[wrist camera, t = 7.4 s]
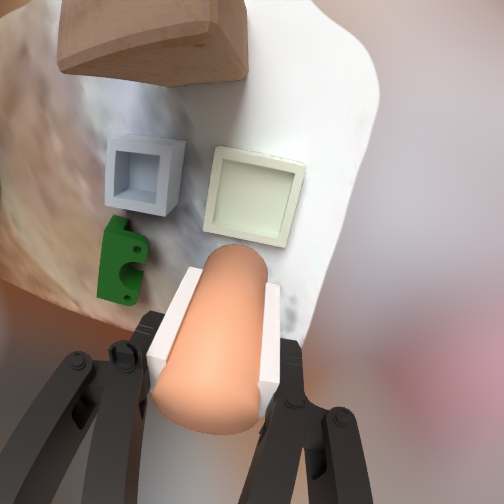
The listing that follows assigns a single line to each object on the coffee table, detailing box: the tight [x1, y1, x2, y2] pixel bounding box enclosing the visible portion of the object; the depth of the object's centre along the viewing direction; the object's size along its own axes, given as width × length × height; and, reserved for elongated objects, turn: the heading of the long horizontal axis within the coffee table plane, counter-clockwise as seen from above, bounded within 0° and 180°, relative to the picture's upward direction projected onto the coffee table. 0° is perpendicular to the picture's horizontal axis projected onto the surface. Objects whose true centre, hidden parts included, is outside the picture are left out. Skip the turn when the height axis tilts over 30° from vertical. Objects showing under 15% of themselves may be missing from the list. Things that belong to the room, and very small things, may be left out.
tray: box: [203, 146, 306, 248], centre depth 33 cm, size 10×10×2 cm
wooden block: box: [57, 0, 248, 87], centre depth 17 cm, size 10×10×20 cm
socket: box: [105, 134, 186, 217], centre depth 31 cm, size 8×8×5 cm
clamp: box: [97, 215, 150, 306], centre depth 37 cm, size 12×6×9 cm, turn 151°
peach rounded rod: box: [152, 244, 268, 435], centre depth 14 cm, size 4×4×10 cm
